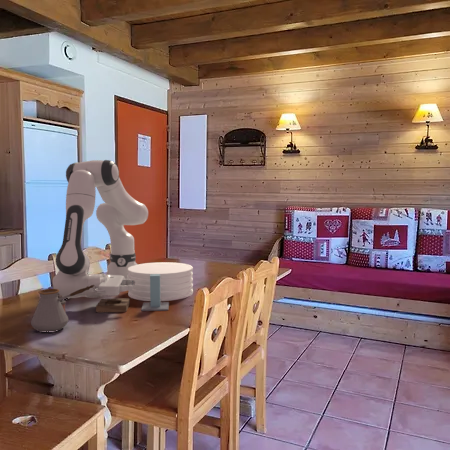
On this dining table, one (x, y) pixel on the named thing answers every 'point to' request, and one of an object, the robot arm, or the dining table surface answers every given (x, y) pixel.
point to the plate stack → (162, 280)
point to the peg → (155, 290)
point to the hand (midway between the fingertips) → (134, 284)
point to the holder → (113, 305)
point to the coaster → (148, 307)
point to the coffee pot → (52, 310)
